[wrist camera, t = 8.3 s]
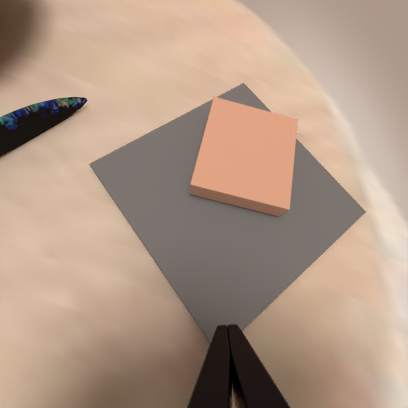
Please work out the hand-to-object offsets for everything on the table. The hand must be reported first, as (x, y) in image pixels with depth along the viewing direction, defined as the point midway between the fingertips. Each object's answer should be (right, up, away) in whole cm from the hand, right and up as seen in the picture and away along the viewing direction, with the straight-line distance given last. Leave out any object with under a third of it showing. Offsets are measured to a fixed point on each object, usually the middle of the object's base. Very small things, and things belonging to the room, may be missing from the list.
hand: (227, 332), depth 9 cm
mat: (+2, +6, +11) cm, 13 cm away
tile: (+2, +5, +9) cm, 11 cm away
